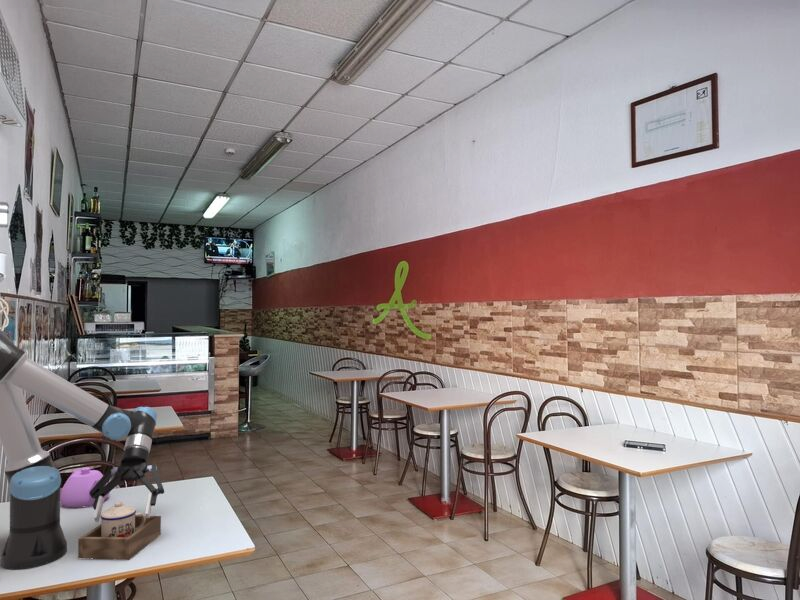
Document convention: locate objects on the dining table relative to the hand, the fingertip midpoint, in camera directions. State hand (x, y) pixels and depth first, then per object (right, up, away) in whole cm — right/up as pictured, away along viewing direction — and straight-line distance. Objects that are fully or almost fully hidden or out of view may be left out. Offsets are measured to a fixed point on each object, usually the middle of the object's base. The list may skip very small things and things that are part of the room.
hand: (121, 517), depth 157 cm
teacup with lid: (0, -8, +1) cm, 8 cm away
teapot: (-33, -10, +40) cm, 53 cm away
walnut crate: (0, -8, +1) cm, 8 cm away
